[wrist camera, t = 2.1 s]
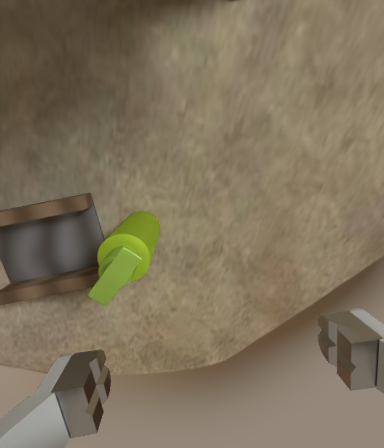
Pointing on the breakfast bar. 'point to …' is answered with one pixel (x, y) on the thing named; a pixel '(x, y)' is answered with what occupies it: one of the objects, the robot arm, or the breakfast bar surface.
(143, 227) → the soap dispenser
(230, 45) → the breakfast bar surface
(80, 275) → the U-rest
